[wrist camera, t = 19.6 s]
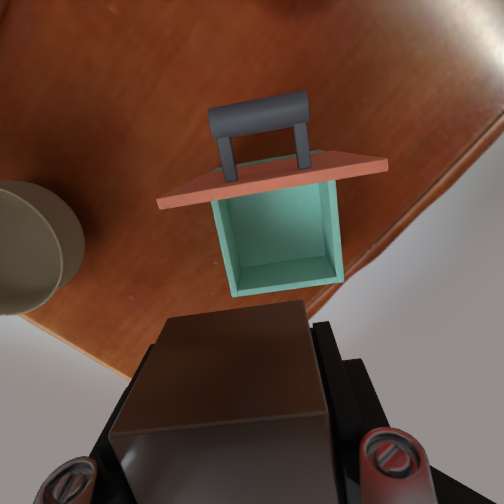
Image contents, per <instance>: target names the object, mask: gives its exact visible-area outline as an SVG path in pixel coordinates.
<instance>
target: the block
mask: <svg viewBox="0 0 504 504" xmlns="http://www.w3.org/2000/svg"><path fill="white" fill-rule="evenodd" d="M108 438H109V441H110V443H111V445H112V448H113V450H114V452H115V454H116V457H117V459H118V461H119V463H120V466H121V468H122V470H123V472H124V475H125V477H126V479H127V482H128V484H129V486H130V488H131V491H132V493H133V495H134V497H135V500H136V502H137V504H340V497H339V489H338V481H337V473H336V465H335V458H334V450H333V442H332V434H331V426H330V419H329V411H328V407H327V403H326V398H325V394H324V389H323V385H322V380H321V376H320V371H319V367H318V362H317V358H316V353H315V349H314V345H313V340H312V336H311V331H310V327H309V322H308V318H307V313H306V309H305V304H304V301H303V300H296V301H289V302H281V303H274V304H267V305H260V306H252V307H245V308H238V309H231V310H224V311H216V312H209V313H202V314H195V315H187V316H180V317H173V318H169V319H167V321H166V323H165V325H164V327H163V329H162V331H161V333H160V335H159V337H158V339H157V341H156V343H155V345H154V346H153V348H152V350H151V352H150V354H149V356H148V358H147V360H146V362H145V364H144V366H143V368H142V370H141V372H140V374H139V375H138V377H137V379H136V381H135V383H134V385H133V387H132V389H131V391H130V393H129V395H128V397H127V399H126V401H125V402H124V404H123V406H122V408H121V410H120V412H119V414H118V416H117V418H116V420H115V422H114V424H113V426H112V428H111V429H110V431H109V434H108Z"/></svg>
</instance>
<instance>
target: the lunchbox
mask: <svg viewBox="0 0 504 504" xmlns="http://www.w3.org/2000/svg"><path fill="white" fill-rule="evenodd" d="M321 152H327V151H324V150H320V149H319V150H314V151H310V154H315V153H321ZM293 157H296V154H292V155H286V156H280V157H275V158H269V159H264V160H258V161H253V162H247V163H241V164H236V168H237V167H243V166H248V165H254V164H259V163H265V162H271V161H276V160H282V159H287V158H293ZM220 170H223V169H222V167H219V168H215V169H214V170H213V171H212V172H215V171H220ZM211 205H212V210H213V214H214V219H215V223H216V228H217V232H218V237H219V241H220V246H221V250H222V255H223V259H224V264H225V268H226V273H227V277H228V282H229V286H230V291H231V295H232V297H238V296H246V295H253V294H260V293H267V292H274V291H281V290H288V289H295V288H302V287H309V286H317V285H324V284H331V283H339V282H344V273H343V261H342V250H341V239H340V227H339V216H338V205H337V193H336V182H335V180H332V181H326V182H320V183H315V184H309V185H303V186H297V187H291V188H285V189H279V190H273V191H268V192H262V193H256V194H250V195H244V196H238V197H232V198H226V199H221V200H215V201H211Z"/></svg>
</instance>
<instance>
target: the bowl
mask: <svg viewBox="0 0 504 504" xmlns="http://www.w3.org/2000/svg"><path fill="white" fill-rule="evenodd" d="M84 253H85V239H84V234H83V230H82V227H81V224H80V222H79V220H78V218H77V217H76V215H75V213H74V212H73V211H72V209H71V208H70V207H69V206H68V205H67V204H66V203H65V202H64V201H63V200H62V199H61V198H60V197H58V196H57V195H56V194H54V193H53V192H51V191H49V190H47V189H46V188H44V187H41V186H39V185H36V184H33V183H29V182H24V181H14V180H9V181H0V315H6V316H8V315H18V314H23V313H27V312H30V311H32V310H35V309H37V308H39V307H40V306H42V305H43V304H45V303H46V302H47V301H48V300H49V299H50V298H51V297H52V296H53V295H54V294H55V292H56V290H58V289H59V288H60V287H62V286H63V285H65V284H66V283H67V282H68V281H70V280H71V279H72V278H73V277H74V275H75V274H76V273H77V271H78V270H79V268H80V266H81V264H82V261H83V258H84Z"/></svg>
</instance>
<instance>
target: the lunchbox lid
mask: <svg viewBox="0 0 504 504" xmlns="http://www.w3.org/2000/svg"><path fill="white" fill-rule="evenodd" d="M208 120H209V125H210V130H211V133H212V136H213V139H214V140H215V141H217V144H218V149H219V154H220V159H221V164H222V169H223V170H220V171H215V172H209V173H204V174H202V175H200V176H198V177H196V178H194V179H193V180H191V181H189V182H187V183H185V184H183V185H181V186H179V187H177V188H176V189H174V190H172V191H170V192H168V193H166V194H164V195H162V196H160V197H159V198H157V202H158V206H159V209H160V210H162V209H168V208H174V207H179V206H185V205H191V204H197V203H203V202H209V201H215V200H221V199H226V198H232V197H238V196H244V195H250V194H256V193H262V192H268V191H273V190H279V189H285V188H291V187H297V186H303V185H309V184H315V183H320V182H326V181H332V180H338V179H344V178H350V177H356V176H362V175H367V174H373V173H379V172H385V171H388V159H387V158H381V157H374V156H368V155H361V154H354V153H348V152H341V151H334V150H332V151H327V152H321V153H315V154H310V147H309V138H308V130H307V124H308V123H309V121H310V111H309V101H308V96H307V92H306V90H301V91H296V92H291V93H286V94H281V95H276V96H271V97H266V98H261V99H256V100H251V101H246V102H240V103H235V104H230V105H225V106H220V107H215V108H210V109H208ZM288 127H292V128H293V136H294V143H295V151H296V157H293V158H287V159H282V160H276V161H271V162H265V163H259V164H254V165H248V166H243V167H237V168H236V163H235V157H234V152H233V146H232V141H231V138H235V137H240V136H245V135H251V134H256V133H261V132H267V131H272V130H277V129H283V128H288Z"/></svg>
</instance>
